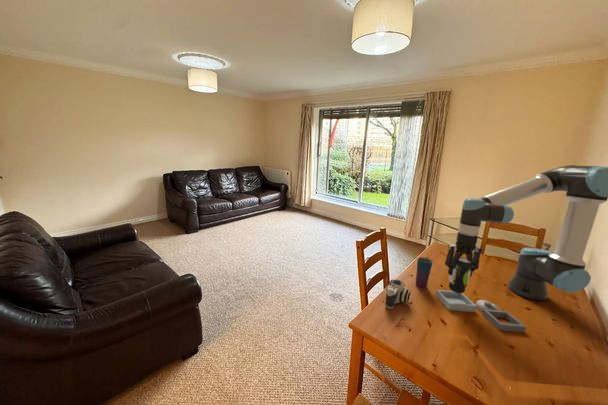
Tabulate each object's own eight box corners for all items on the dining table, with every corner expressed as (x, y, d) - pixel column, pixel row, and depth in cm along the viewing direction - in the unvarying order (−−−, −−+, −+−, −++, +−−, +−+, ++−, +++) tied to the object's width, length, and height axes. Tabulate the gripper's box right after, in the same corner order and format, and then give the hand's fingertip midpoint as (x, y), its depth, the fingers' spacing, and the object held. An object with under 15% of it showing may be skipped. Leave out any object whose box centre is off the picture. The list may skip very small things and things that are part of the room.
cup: (429, 291, 123) (434, 263, 121) (415, 289, 125) (419, 261, 122) (425, 285, 130) (430, 258, 127) (412, 282, 131) (416, 256, 129)
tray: (459, 297, 120) (460, 291, 119) (475, 312, 108) (476, 306, 108) (435, 295, 120) (436, 289, 120) (448, 310, 109) (449, 303, 108)
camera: (402, 314, 104) (405, 292, 102) (382, 306, 109) (385, 285, 107) (410, 297, 117) (413, 278, 115) (392, 291, 122) (394, 272, 120)
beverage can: (445, 287, 114) (452, 257, 111) (454, 285, 117) (461, 256, 114) (458, 294, 109) (465, 263, 106) (467, 292, 111) (475, 261, 108)
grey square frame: (491, 304, 115) (493, 298, 115) (524, 332, 97) (526, 325, 96) (469, 302, 116) (471, 296, 115) (498, 330, 97) (500, 323, 97)
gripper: (484, 232, 111) (474, 279, 116) (441, 229, 112) (433, 276, 116) (496, 238, 104) (485, 288, 108) (450, 234, 105) (441, 284, 109)
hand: (458, 281), depth 112 cm, fingers closed on beverage can, 6 cm apart
